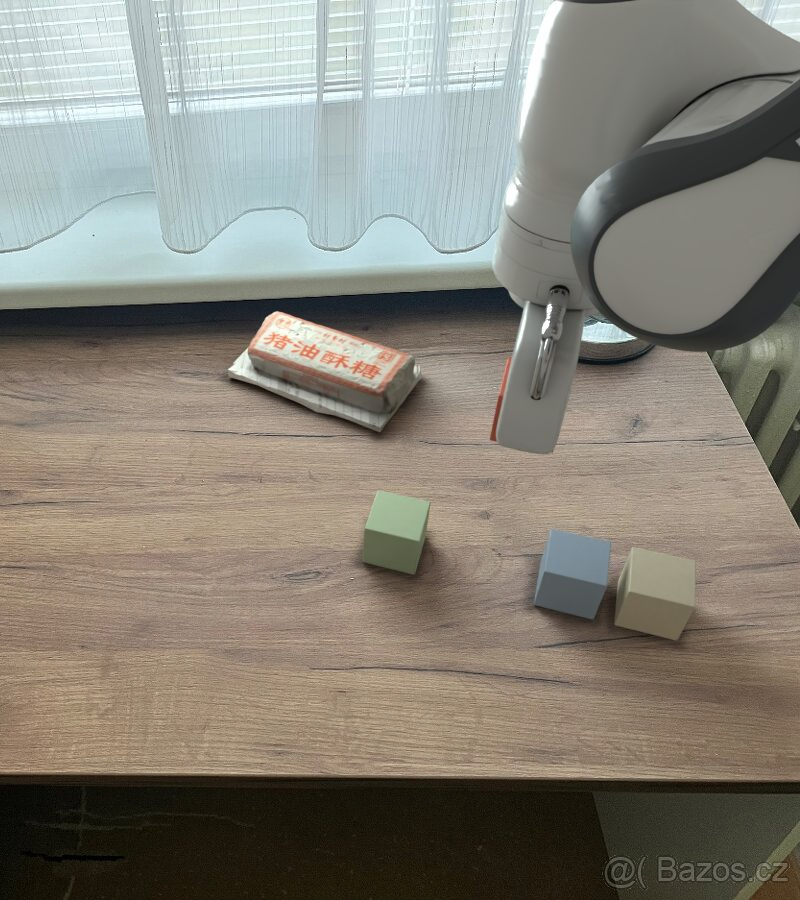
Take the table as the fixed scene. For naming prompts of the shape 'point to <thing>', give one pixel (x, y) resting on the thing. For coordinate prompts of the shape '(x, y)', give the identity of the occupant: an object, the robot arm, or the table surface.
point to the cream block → (656, 593)
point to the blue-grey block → (573, 574)
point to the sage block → (395, 532)
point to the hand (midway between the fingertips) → (529, 409)
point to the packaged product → (328, 370)
